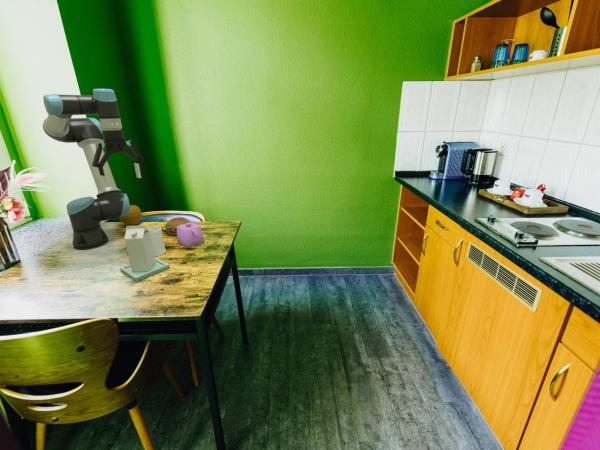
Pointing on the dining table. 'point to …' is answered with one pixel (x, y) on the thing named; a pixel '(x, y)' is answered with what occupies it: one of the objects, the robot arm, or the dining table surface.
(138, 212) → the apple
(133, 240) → the milk carton
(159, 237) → the mug
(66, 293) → the dining table surface
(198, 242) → the teapot
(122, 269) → the tray
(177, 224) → the food
